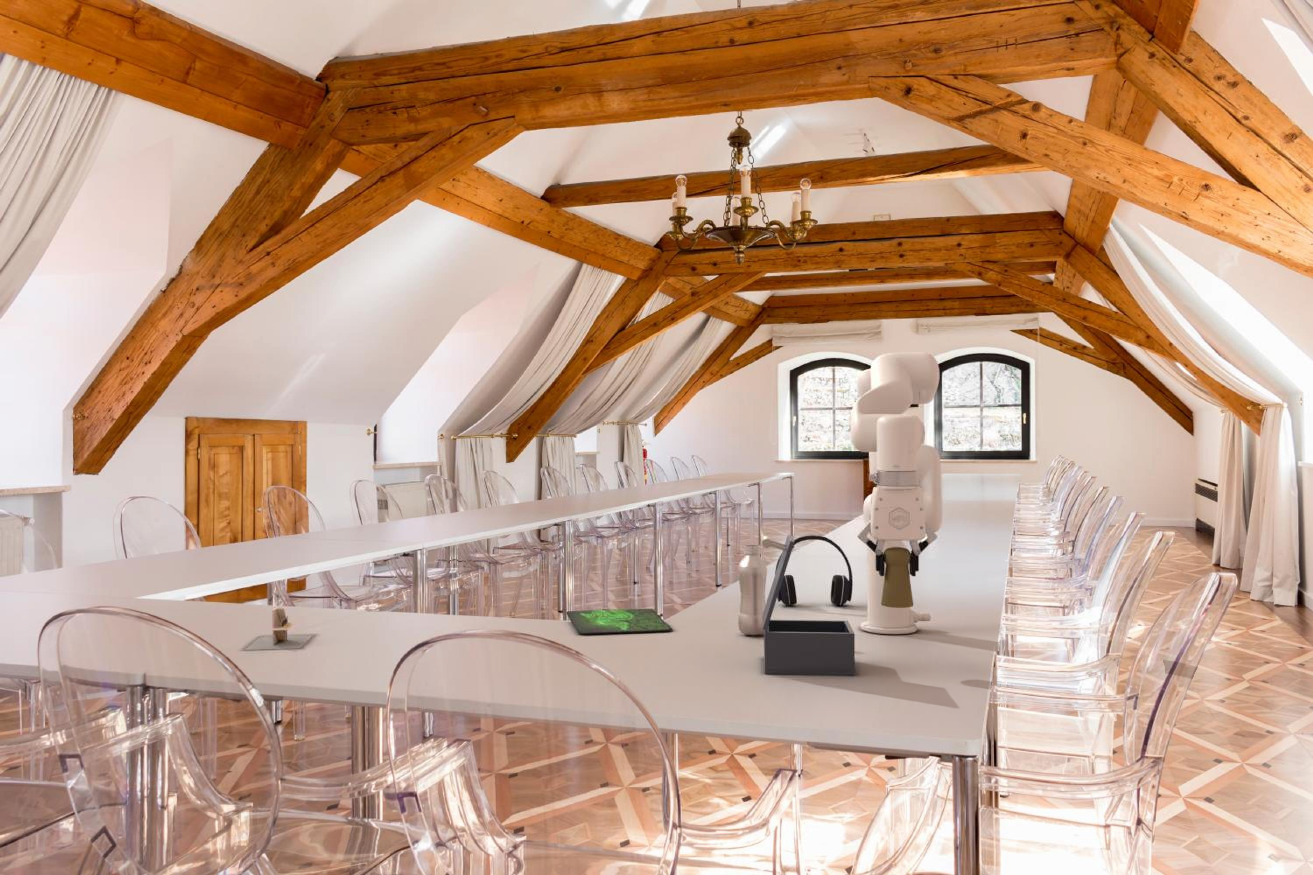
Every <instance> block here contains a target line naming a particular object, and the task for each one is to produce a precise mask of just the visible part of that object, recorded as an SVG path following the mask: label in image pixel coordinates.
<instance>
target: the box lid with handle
mask: <svg viewBox="0 0 1313 875" xmlns="http://www.w3.org/2000/svg"><path fill="white" fill-rule="evenodd" d="M786 535H787V536H786V538H785V542H784V543H781V542H780V541H779V542H778V541H774V540H773V539H771V537H770V536H769V535H764V536H763V537H762V538H761V547H763V548H764V549H769V548H770V547H771V548H773V549H777V550H780V551H781V554H782V555H781V554H780V555H781V558H780V561H779V564H778V567H777V571H776V574H775V573H774V577H773V580H772V584H771V587H770V589H769V594H768V597H767V599H766V601H765V609H764V612H763V615H762V624H763V630H767V628H768V625H769V622H770V620H772V619H771V618H772V615H773V612H774V610H775V606H776V603H777V601H778V599H777V596H778V593H779V590H780V587H781V584H782V580H783V577H784V575H786V571H787V567H788V564H789V561H790V558H791V555H792V552H793V549H794V546H795V545H794V540H795V539H794V537H793V534H789V533H788V534H786ZM793 545H794V546H793Z"/></svg>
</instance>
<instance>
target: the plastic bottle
mask: <svg viewBox="0 0 1313 875" xmlns="http://www.w3.org/2000/svg"><path fill="white" fill-rule="evenodd" d="M743 554H744V556H743V558H742V559H741V561H740V562H739V564H738V566H737V574H738V575H737V577H738V582H739V583H738V584H739V592H740V603H739V604H740V605H739V615H738V619H737V620H738V621H737V624H738V630H739V631H740V633H741V634H744V635H749V636H759V635H764V630H763V624H762V615H763V612H764V609H765V606H766V594H765V593H766V585H767V584H766V583H767V576H768V575H767V574H768V567H767V564H766V562H764V560H763V558H762V557H761V554H762V544H761V545H760V544H744V546H743Z"/></svg>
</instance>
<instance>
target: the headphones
mask: <svg viewBox="0 0 1313 875" xmlns="http://www.w3.org/2000/svg"><path fill="white" fill-rule="evenodd" d="M793 540H794V545H793V547H794V546H795V545H796V544H799V543H801V542H805V541H812V540H815V541H823V542H826V543H828V544H830V545H832V546H833V547H834V548H835V549H836V550H838V552H839V553H840V554H841V556H842V558H843V559H844V562H845V564H846V566H847V571H848V578H847V576H846V575H844V574H842V575H841V574H835V575H833V576H832V580H831V585H830V586H831V587H830V603H831V604H832V605H835V606H842V607H843V606H844V605H845V604H846V603H848V602H849V603H850V602H851V601H852V596H853V586H854V585H853V572H852V568H851V567H852V566H851V563H850V562H849V561H850V560H849V559H848V557H847V555H846V554H845V552H844V550H843V549H842V548H841V547H840V545H838V543H836V542H835V541H833V540H832V539H830V538H828V537H826V536H822V535H816V534H815V535H814V534H810V535H803V536H800V537H797V538H795V539H793ZM781 555H782V553H780V555H779V557H778V559H777V562H776V565H775V570H774V575H775V574H776V571H777V567H778V564H779V561H780V558H781ZM797 598H798V597H797V590H796V584H795V579H794V576H793V575H792V574H784V577H783V580H782V584H781V587H780V590H779V593H778V596H777V602H778V603H780V602H781V603H782V604H784V606H786V607H788V606H794V605H796V604H797V603H798V599H797Z"/></svg>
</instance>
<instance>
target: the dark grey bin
mask: <svg viewBox="0 0 1313 875" xmlns="http://www.w3.org/2000/svg"><path fill="white" fill-rule="evenodd" d="M855 634H856V633H855V632H854V630H853V628H852V626H851V624H850V622H849V620H832V619H830V620H827V619H826V620H825V619H823V620H822V619H821V620H819V619H809V620H808V619H770V622H769V625H768V628H767V630H764V634H763V663H764V664H763V665H764V674H765V675H799V676H800V675H801V676H805V675H807V676H855V675H856V674H855V673H856V668H855V665H856V663H855V662H856V659H855V658H856V656H855V654H856V653H855V652H856V649H855V648H856V647H855V646H856V644H855V643H856V641H855V640H856V638H855V637H856V636H855Z"/></svg>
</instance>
